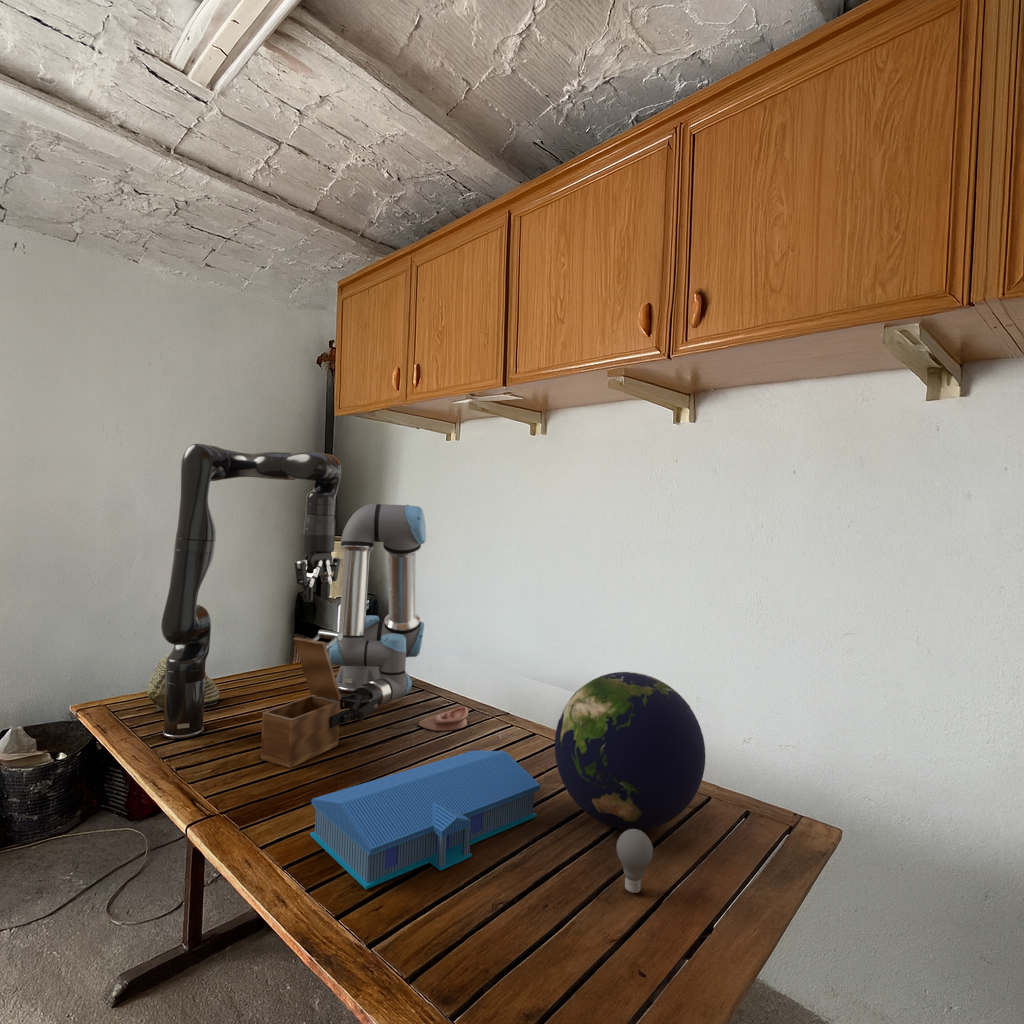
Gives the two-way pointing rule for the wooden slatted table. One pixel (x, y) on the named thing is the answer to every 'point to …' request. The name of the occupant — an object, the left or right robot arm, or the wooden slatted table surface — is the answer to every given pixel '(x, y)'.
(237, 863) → the wooden slatted table surface
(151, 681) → the fossil
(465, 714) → the anatomical model
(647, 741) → the globe
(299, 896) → the wooden slatted table surface
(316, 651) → the lid
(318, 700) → the chest
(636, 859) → the light bulb
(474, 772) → the model building
